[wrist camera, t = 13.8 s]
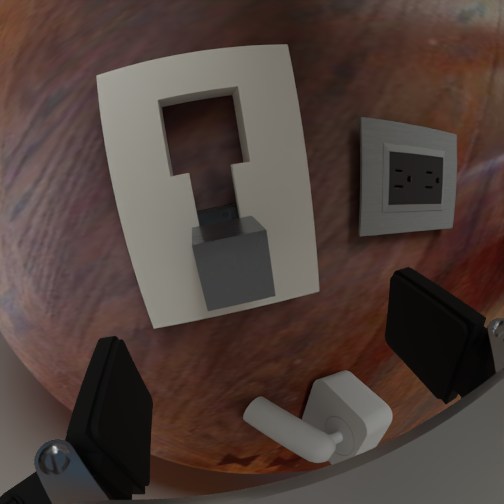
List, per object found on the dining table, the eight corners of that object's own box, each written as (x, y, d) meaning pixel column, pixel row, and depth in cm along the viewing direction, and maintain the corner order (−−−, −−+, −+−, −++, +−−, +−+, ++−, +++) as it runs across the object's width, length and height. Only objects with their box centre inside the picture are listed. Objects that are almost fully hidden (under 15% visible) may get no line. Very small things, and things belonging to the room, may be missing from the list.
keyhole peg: (189, 212, 23) (187, 242, 15) (242, 201, 24) (269, 225, 16) (199, 263, 25) (205, 315, 17) (250, 252, 25) (279, 298, 17)
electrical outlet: (444, 134, 26) (458, 134, 24) (440, 223, 29) (454, 228, 27) (349, 119, 24) (362, 116, 21) (348, 230, 27) (361, 237, 25)
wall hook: (241, 378, 28) (300, 463, 18) (332, 355, 34) (397, 412, 24) (235, 431, 31) (280, 503, 21) (315, 406, 36) (366, 461, 26)
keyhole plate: (107, 84, 18) (96, 75, 16) (276, 56, 20) (287, 44, 18) (156, 310, 25) (153, 328, 22) (306, 277, 27) (319, 291, 24)
